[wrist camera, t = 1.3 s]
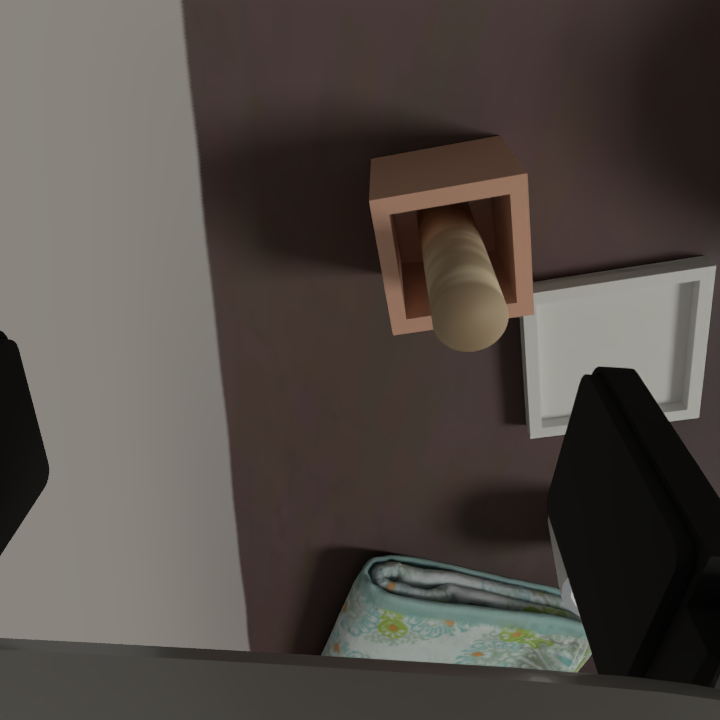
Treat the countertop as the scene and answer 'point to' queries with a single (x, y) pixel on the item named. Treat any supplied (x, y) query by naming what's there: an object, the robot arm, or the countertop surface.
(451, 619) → the towel
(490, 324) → the dowel
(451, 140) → the countertop surface
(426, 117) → the countertop surface
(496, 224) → the cup
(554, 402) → the tray
